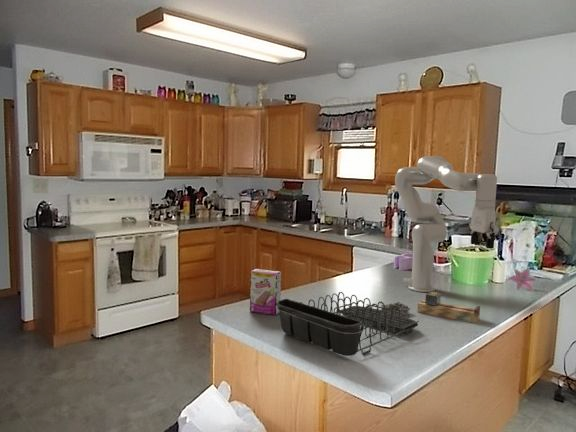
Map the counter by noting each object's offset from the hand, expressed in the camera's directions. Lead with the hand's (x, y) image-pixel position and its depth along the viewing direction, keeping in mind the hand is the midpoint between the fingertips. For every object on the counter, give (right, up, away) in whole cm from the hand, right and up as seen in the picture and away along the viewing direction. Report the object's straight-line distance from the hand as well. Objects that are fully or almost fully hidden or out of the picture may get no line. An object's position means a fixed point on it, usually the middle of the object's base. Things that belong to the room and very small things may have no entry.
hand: (481, 246), depth 184 cm
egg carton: (-38, -27, -8) cm, 47 cm away
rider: (-22, -23, -6) cm, 33 cm away
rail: (-17, -27, -9) cm, 33 cm away
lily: (+35, -24, +35) cm, 55 cm away
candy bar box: (-89, -25, -10) cm, 93 cm away
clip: (-9, -18, +79) cm, 82 cm away
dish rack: (-58, -28, -30) cm, 71 cm away
